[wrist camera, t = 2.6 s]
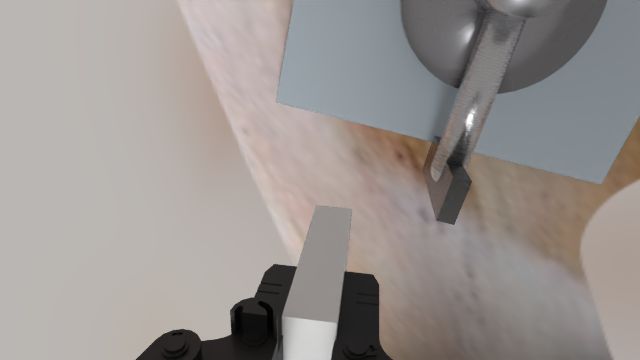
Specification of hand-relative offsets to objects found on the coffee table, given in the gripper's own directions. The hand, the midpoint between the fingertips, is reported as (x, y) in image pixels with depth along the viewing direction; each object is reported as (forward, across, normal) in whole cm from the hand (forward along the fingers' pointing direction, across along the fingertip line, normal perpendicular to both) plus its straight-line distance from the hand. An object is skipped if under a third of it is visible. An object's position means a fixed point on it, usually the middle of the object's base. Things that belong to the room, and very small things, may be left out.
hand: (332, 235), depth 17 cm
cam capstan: (+11, +7, +9) cm, 16 cm away
